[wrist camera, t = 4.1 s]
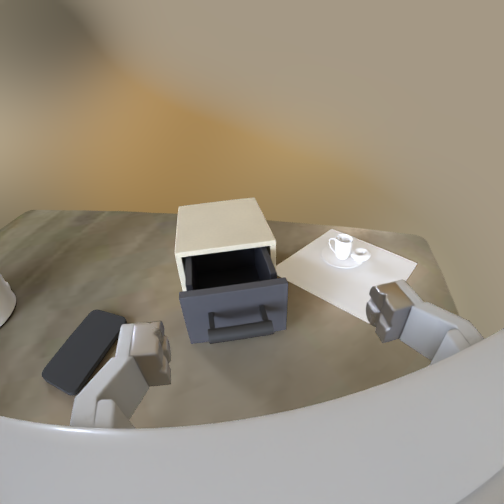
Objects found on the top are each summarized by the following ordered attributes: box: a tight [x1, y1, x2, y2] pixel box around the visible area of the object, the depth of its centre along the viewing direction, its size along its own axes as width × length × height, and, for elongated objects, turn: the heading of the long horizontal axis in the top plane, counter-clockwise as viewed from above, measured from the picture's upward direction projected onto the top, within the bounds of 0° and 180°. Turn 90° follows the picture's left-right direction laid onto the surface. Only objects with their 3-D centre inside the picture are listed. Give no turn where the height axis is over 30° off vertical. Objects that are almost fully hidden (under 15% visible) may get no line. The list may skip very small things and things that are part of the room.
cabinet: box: [175, 198, 276, 291], centre depth 49 cm, size 16×14×10 cm
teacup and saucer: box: [320, 233, 372, 269], centre depth 52 cm, size 9×8×4 cm
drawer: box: [179, 246, 288, 344], centre depth 40 cm, size 19×12×8 cm, turn 10°
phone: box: [42, 310, 127, 395], centre depth 36 cm, size 7×1×15 cm
